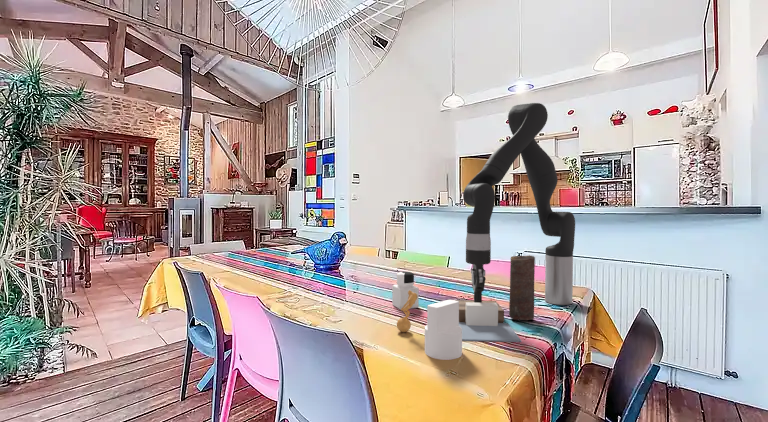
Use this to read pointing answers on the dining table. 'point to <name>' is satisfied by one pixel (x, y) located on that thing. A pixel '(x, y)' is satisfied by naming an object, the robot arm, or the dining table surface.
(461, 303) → the brown flat block
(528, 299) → the candle
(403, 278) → the medicine bottle
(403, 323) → the figurine
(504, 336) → the mat
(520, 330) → the dining table surface
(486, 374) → the dining table surface
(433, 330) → the cylinder with rectangular tab
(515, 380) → the dining table surface
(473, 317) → the white rectangular block
